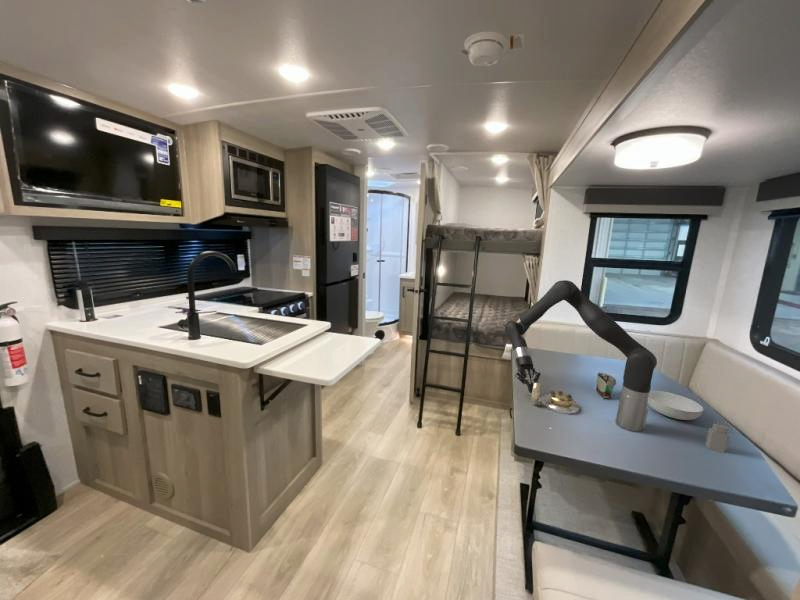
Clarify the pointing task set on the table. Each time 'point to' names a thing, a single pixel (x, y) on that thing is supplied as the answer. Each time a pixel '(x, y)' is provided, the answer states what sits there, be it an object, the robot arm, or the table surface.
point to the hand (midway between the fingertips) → (532, 392)
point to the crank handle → (551, 397)
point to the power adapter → (717, 437)
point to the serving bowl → (674, 405)
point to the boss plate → (563, 410)
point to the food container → (605, 385)
